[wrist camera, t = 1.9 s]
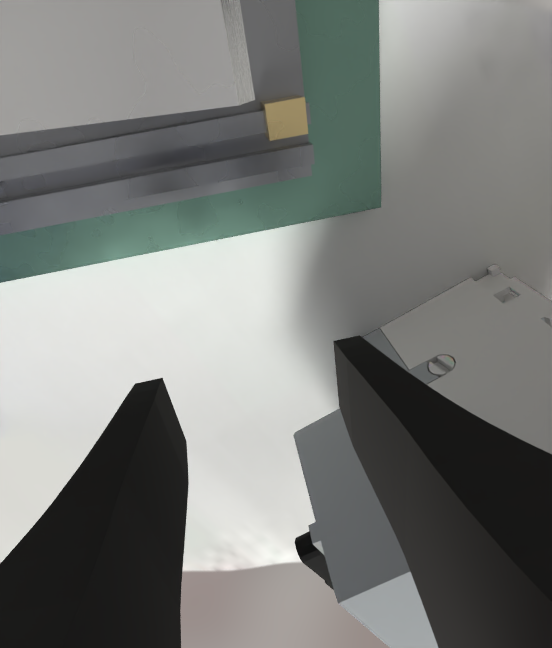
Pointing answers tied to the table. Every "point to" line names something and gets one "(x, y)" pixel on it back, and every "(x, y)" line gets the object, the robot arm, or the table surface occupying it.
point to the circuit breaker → (458, 386)
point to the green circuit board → (209, 153)
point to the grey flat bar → (118, 60)
